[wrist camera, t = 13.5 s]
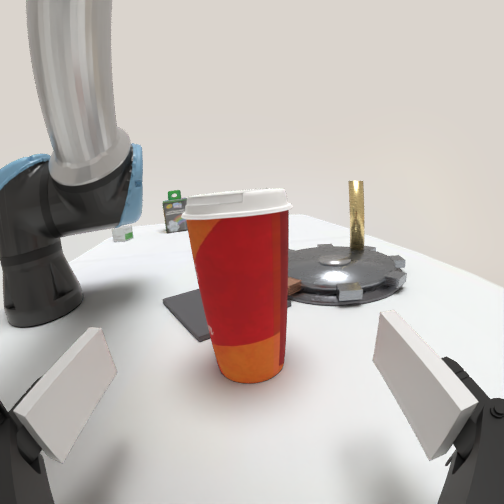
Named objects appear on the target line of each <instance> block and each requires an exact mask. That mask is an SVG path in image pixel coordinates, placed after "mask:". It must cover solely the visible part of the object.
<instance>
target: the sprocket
mask: <svg viewBox="0 0 504 504" xmlns="http://www.w3.org/2000/svg"><path fill="white" fill-rule="evenodd" d="M363 192H364V191H363V181H349V202H350V247H333V245H332V244H320V245H317V247H316V248H308V249H302V250H297V251H295V250H290V249H288V295H291V294H293V293H296V292H298V291H300V290H303V291H309V292H316V293H328V294H337V297H338V299H339V301H346V300H359V299H362V295H363V291H368V290H372V289H375V288H378V287H381V286H383V285H388V286H392V287H396V288H399V287H400V286H401V285H402V284H404V283H405V282H406V275H407V273H404V272H399V271H395V268H405V260H404V259H403V258H402V257H400V256H399V255H397V256H387V255H385V254H382V253H379V252H376V248H375V247H369V246H364V193H363Z"/></svg>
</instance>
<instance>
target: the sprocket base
mask: <svg viewBox="0 0 504 504" xmlns="http://www.w3.org/2000/svg"><path fill="white" fill-rule="evenodd" d="M395 271H399V272H402V270H401V269H400V268H395ZM402 285H403V284H402ZM402 285H401V286H402ZM401 286H400V287H399V288H396V287H392V286H388V285H383V286H381V287H378V288H375V289H372V290H368V291H363V295H362V299H359V300H346V301H339V299H338V297H337V294H328V293H316V292H309V291H303V290H300V291H298V292H296V293H293V294H291V295H288V296H287V299H290V300H294V301H298V302H302V303H308V304H315V305H328V306H346V305H357V304H364V303H369V302H373V301H377V300H380V299H383V298H386V297H388V296H390V295H392V294H394V293H395V292H397V291H398V290H399V289H400V288H401Z"/></svg>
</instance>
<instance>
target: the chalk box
mask: <svg viewBox="0 0 504 504" xmlns="http://www.w3.org/2000/svg"><path fill="white" fill-rule="evenodd" d="M174 193H176V194H177V197H172V196H171V195H172V194H174ZM186 205H187V198H181V194H180V190H176V191H169V192H168V200H167V201H163V210H164V217H165V224H166V231H167V233H170V232H178V231H186V230H188V227H187V221H186V219H183V218H181V216H182V213H184V212H185V206H186Z"/></svg>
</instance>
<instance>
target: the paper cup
mask: <svg viewBox="0 0 504 504" xmlns="http://www.w3.org/2000/svg"><path fill="white" fill-rule="evenodd" d="M292 208H293V206H292V204H291V203H288V200H287V196H286V191H285V190H284V189H283V188H273V189H267V188H265V189H255V190H240V191H229V192H219V193H211V194H202V195H195V196H190V197H188V198H187V205H186V206H185V212H184V213H182V216H181V218H183V219H186V221H187V227H188V233H189V238H190V244H191V249H192V254H193V259H194V265H195V270H196V275H197V279H198V284H199V289H200V294H201V298H202V303H203V307H204V312H205V316H206V320H207V325H208V329H209V333H210V337H211V341H212V345H213V348H214V352H215V356H216V359H217V363H218V366H219V369H220V371H221V372H222V374H223V375H224V376H225V377H227V378H228V379H230V380H232V381H235V382H239V383H258V382H263V381H266V380H268V379H270V378H272V377H274V376H275V375H277V374H278V373H279V372H280V371H281V369H282V367H283V364H284V357H285V345H286V325H287V296H288V210H290V209H292Z"/></svg>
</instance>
